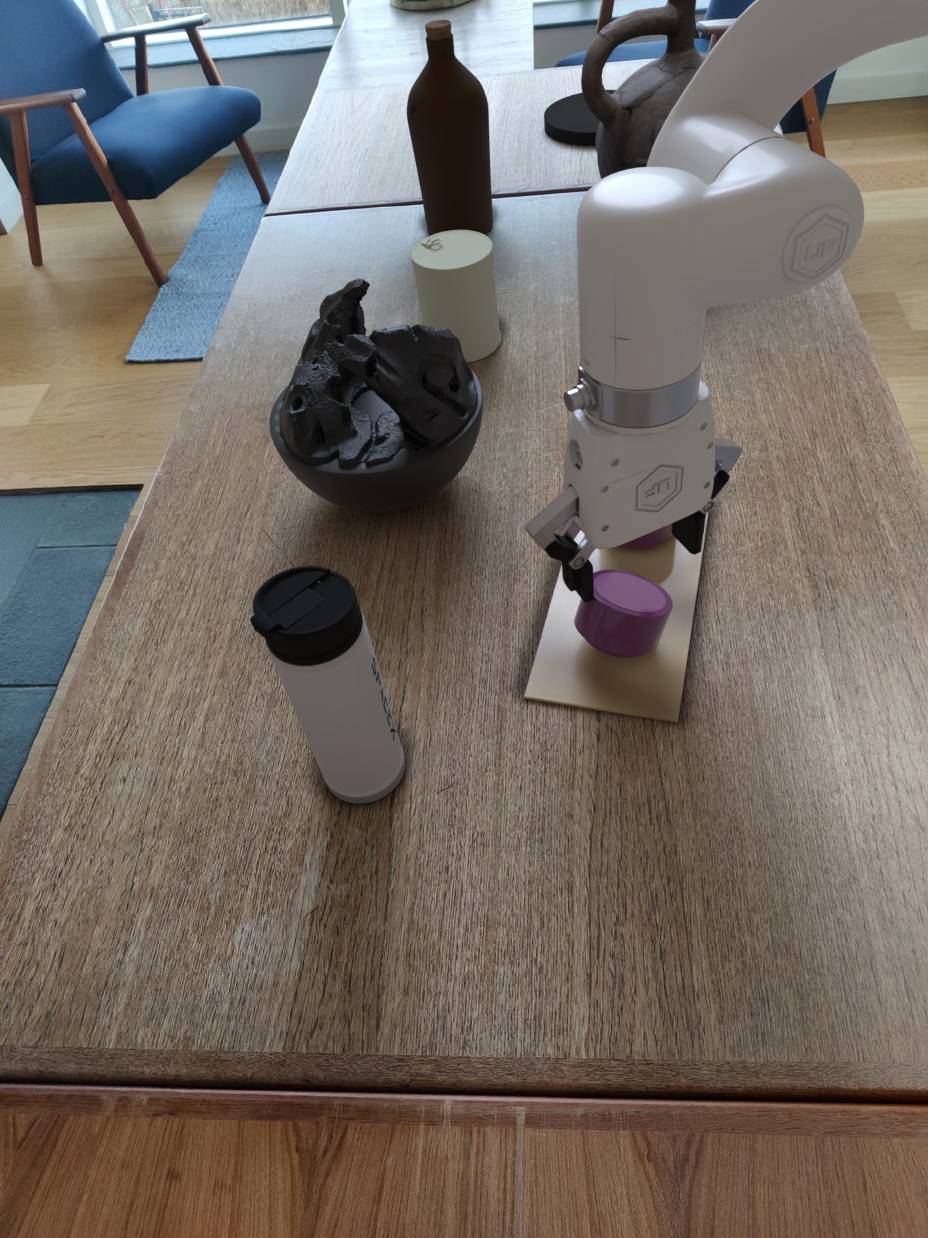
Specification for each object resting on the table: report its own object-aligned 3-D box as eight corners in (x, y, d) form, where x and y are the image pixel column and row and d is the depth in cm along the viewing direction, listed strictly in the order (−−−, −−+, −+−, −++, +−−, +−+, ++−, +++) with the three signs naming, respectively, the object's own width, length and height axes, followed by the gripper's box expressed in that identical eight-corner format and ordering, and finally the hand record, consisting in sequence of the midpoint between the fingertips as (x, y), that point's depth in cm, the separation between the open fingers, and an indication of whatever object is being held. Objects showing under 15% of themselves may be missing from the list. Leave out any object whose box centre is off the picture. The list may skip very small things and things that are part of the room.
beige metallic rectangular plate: (584, 486, 86) (584, 483, 86) (710, 498, 83) (711, 496, 83) (524, 698, 70) (523, 696, 70) (677, 723, 67) (678, 721, 67)
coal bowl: (449, 573, 80) (420, 399, 66) (260, 537, 86) (196, 370, 72) (517, 440, 92) (504, 268, 78) (346, 415, 98) (306, 252, 84)
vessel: (672, 287, 109) (694, 0, 86) (542, 239, 120) (532, -25, 98) (787, 212, 118) (833, -65, 96) (657, 174, 130) (671, -81, 108)
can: (454, 314, 110) (442, 218, 101) (516, 332, 106) (509, 233, 97) (409, 352, 106) (392, 255, 97) (471, 371, 101) (460, 272, 92)
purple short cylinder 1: (667, 498, 83) (670, 460, 80) (685, 550, 79) (689, 512, 75) (593, 508, 84) (593, 470, 80) (606, 560, 79) (607, 522, 76)
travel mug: (305, 777, 68) (224, 602, 53) (367, 721, 71) (307, 540, 56) (359, 824, 65) (290, 652, 50) (422, 763, 67) (374, 584, 52)
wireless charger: (536, 112, 151) (535, 99, 149) (639, 96, 151) (640, 83, 149) (554, 152, 139) (554, 139, 137) (666, 135, 139) (667, 121, 137)
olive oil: (477, 249, 121) (456, 39, 102) (410, 240, 125) (378, 36, 106) (509, 214, 127) (496, 9, 108) (444, 206, 130) (420, 8, 112)
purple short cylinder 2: (648, 623, 75) (665, 578, 73) (661, 671, 69) (680, 623, 67) (568, 608, 74) (582, 562, 72) (574, 655, 68) (590, 606, 66)
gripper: (548, 460, 53) (559, 641, 66) (789, 363, 56) (755, 554, 69) (493, 398, 57) (514, 578, 70) (718, 312, 61) (698, 499, 74)
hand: (633, 566), depth 70 cm, fingers open, 9 cm apart
